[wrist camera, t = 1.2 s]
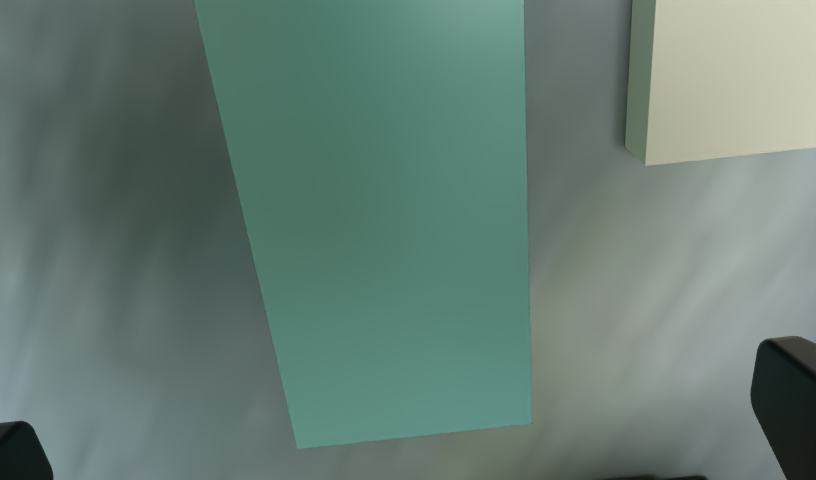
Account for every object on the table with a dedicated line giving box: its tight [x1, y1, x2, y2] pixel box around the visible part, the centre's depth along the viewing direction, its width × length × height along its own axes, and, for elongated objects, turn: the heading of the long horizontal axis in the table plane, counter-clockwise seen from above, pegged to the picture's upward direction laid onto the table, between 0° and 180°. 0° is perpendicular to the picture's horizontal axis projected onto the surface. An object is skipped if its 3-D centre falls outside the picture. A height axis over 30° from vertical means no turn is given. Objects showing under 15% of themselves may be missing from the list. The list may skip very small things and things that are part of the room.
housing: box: [193, 0, 532, 449], centre depth 15 cm, size 6×12×5 cm, turn 6°
